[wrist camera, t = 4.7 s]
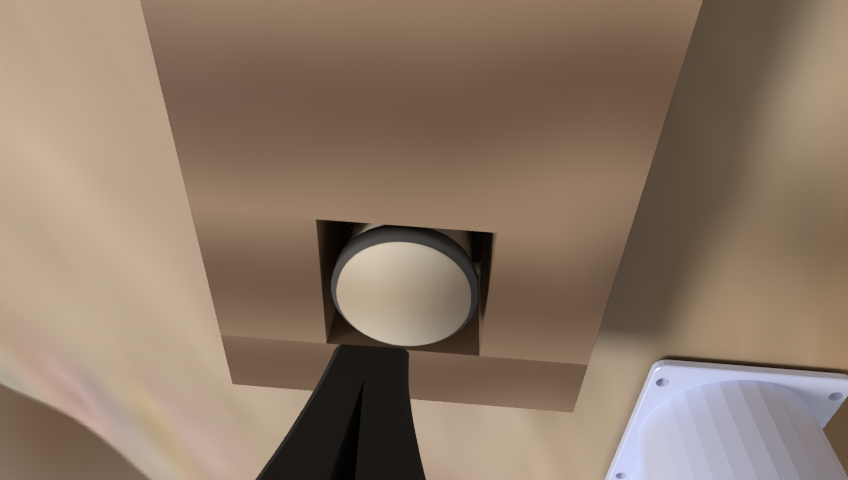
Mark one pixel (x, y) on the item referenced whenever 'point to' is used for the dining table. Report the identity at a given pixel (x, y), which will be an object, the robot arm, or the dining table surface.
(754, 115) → the dining table surface
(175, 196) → the dining table surface
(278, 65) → the walnut block
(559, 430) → the dining table surface
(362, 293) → the birch peg inner
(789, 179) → the dining table surface
